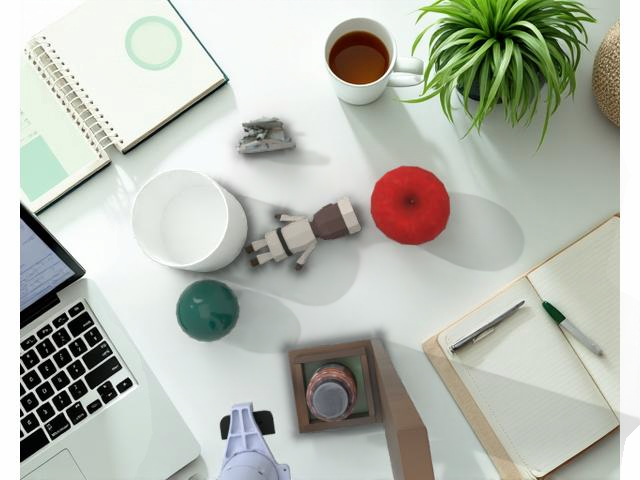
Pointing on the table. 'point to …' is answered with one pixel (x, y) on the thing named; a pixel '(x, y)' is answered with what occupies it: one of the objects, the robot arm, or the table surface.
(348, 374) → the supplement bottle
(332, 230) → the toy
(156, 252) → the cup
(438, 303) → the table surface
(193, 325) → the sphere
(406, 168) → the apple
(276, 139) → the grey irregular chunk
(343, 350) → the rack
